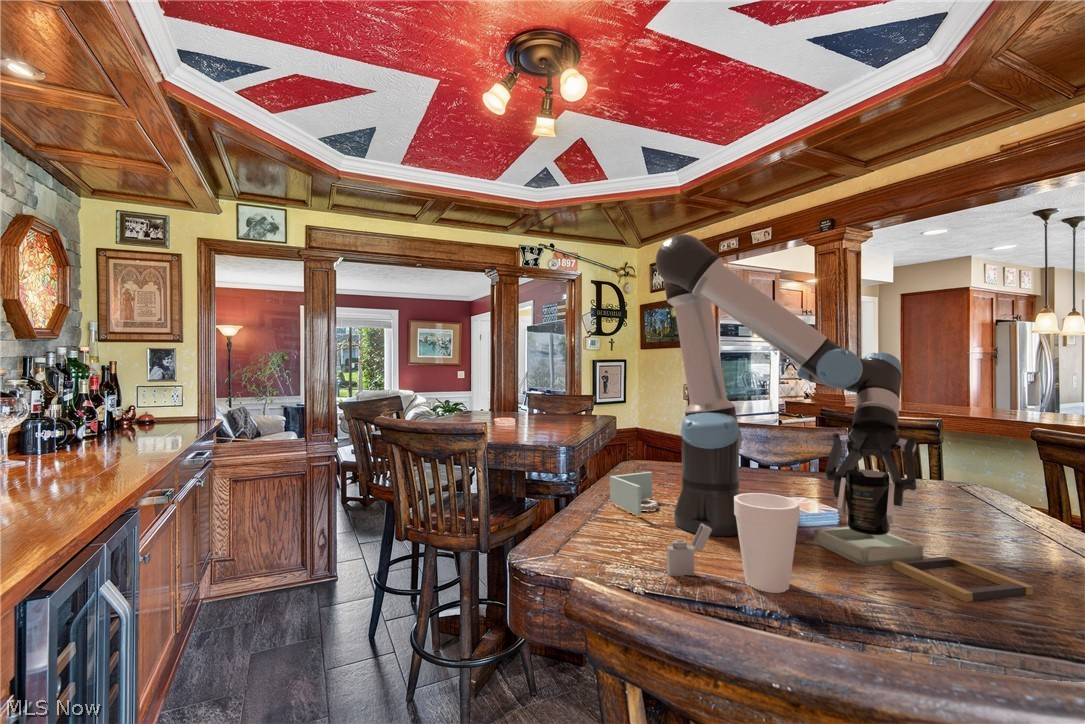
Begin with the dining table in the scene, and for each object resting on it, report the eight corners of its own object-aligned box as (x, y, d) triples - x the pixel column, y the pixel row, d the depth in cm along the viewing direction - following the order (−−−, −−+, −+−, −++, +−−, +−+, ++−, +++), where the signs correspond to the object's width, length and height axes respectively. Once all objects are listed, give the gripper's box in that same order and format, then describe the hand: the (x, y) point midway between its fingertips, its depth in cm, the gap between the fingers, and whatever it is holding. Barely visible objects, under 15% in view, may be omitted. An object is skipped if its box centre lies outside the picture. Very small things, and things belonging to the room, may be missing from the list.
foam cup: (724, 572, 82) (723, 493, 82) (777, 569, 83) (776, 492, 83) (753, 599, 72) (752, 510, 73) (813, 596, 73) (812, 508, 73)
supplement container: (894, 538, 86) (892, 478, 86) (848, 533, 89) (847, 475, 89) (887, 526, 92) (885, 470, 92) (844, 522, 95) (843, 468, 95)
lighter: (669, 576, 81) (669, 526, 81) (666, 571, 82) (666, 523, 82) (712, 575, 81) (712, 526, 81) (708, 570, 83) (708, 522, 83)
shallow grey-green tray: (863, 566, 84) (862, 551, 84) (814, 542, 95) (814, 529, 95) (923, 560, 86) (922, 546, 86) (868, 538, 97) (868, 525, 97)
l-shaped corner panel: (638, 519, 112) (637, 486, 112) (610, 506, 123) (609, 476, 123) (680, 513, 117) (680, 481, 117) (650, 500, 128) (649, 471, 128)
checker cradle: (965, 602, 71) (965, 593, 71) (892, 568, 83) (892, 561, 83) (1032, 594, 73) (1032, 586, 73) (952, 562, 85) (952, 555, 85)
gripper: (938, 431, 96) (936, 538, 83) (824, 424, 109) (807, 516, 96) (936, 405, 92) (934, 514, 79) (817, 402, 105) (799, 495, 92)
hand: (864, 515), depth 88 cm, fingers closed on supplement container, 7 cm apart
